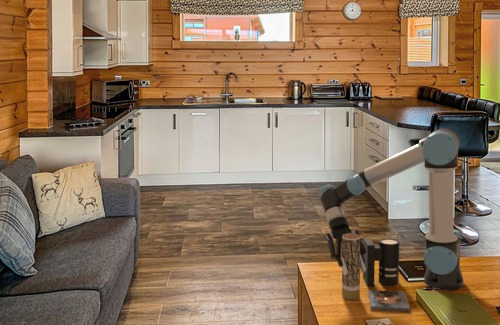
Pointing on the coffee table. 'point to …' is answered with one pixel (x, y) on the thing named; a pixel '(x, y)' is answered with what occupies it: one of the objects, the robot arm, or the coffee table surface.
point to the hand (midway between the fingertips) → (355, 272)
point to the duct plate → (388, 301)
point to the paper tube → (351, 266)
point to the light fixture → (382, 261)
